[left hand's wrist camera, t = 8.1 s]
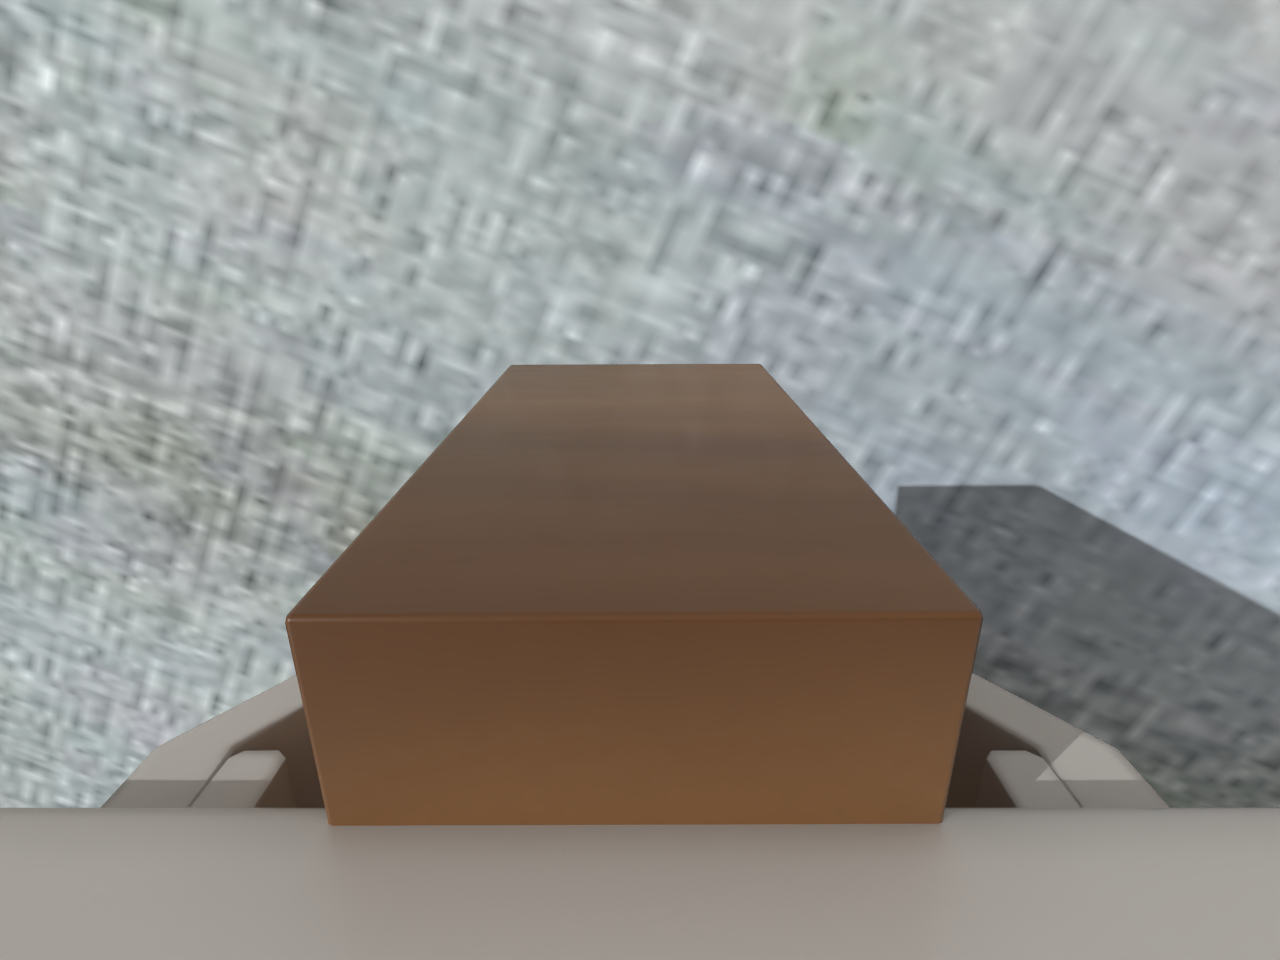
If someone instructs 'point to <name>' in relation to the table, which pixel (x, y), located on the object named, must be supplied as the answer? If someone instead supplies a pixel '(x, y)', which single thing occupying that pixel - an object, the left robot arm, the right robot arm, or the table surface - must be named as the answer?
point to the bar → (634, 621)
